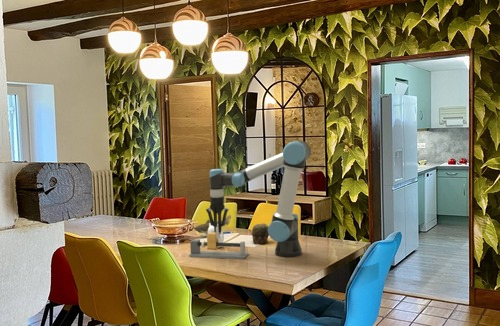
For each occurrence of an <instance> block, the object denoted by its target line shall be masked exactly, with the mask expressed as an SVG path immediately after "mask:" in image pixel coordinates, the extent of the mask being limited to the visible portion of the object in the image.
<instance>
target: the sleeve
mask: <svg viewBox="0 0 500 326" xmlns="http://www.w3.org/2000/svg"><path fill="white" fill-rule="evenodd" d="M206 242H207V246H206V248H207V250H208V251H216V250H218V249H219V246H216V243H218V239H216V233H208V234H207V236H206Z"/></svg>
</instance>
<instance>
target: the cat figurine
mask: <svg viewBox="0 0 500 326" xmlns="http://www.w3.org/2000/svg"><path fill="white" fill-rule="evenodd" d="M217 226H218V224H217ZM208 233H216V232H214V226H211V223H209V228H208ZM224 239H225V233H224V232H223V230H222V231H221V233H220V238H219V239H218V243H224V241H225V240H224ZM221 247H223V246H219V248H221ZM219 248H218V249H219Z"/></svg>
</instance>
